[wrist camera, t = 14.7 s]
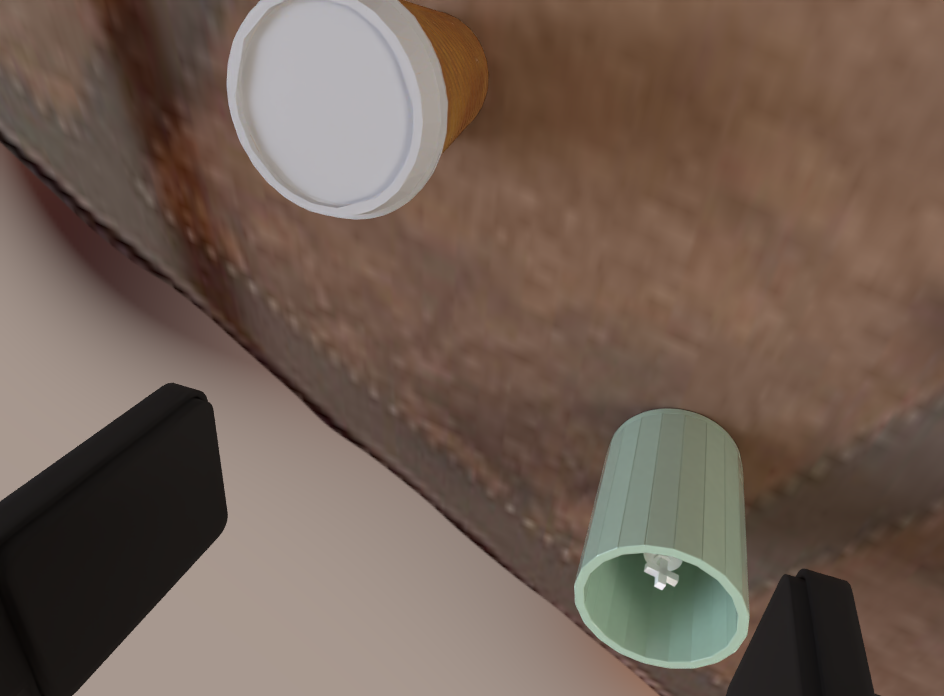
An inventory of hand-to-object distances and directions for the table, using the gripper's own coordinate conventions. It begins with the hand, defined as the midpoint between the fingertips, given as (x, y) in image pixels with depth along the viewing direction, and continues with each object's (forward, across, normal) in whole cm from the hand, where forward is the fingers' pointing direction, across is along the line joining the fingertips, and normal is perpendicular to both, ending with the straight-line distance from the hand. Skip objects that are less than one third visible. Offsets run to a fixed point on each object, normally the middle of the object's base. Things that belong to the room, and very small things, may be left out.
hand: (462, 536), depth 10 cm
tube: (+28, -6, +18) cm, 34 cm away
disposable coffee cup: (+28, +12, -2) cm, 31 cm away
